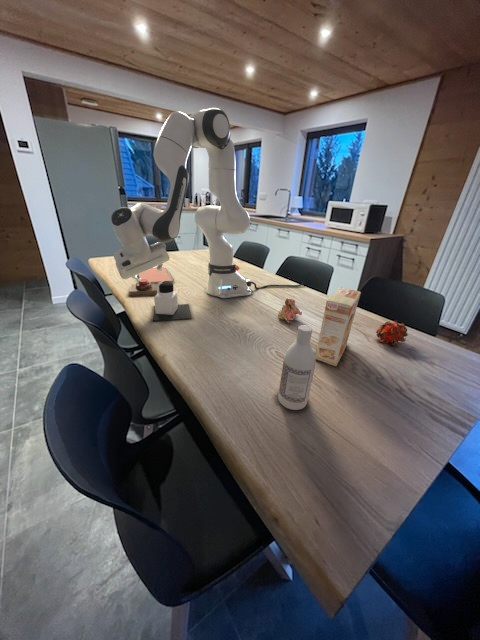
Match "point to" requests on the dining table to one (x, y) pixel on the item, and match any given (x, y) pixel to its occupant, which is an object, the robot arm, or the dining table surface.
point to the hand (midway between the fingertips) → (149, 275)
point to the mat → (178, 315)
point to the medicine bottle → (166, 298)
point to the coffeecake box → (336, 325)
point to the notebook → (156, 275)
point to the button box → (143, 289)
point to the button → (143, 282)
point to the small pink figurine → (289, 310)
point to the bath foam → (297, 371)
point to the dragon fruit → (392, 332)
